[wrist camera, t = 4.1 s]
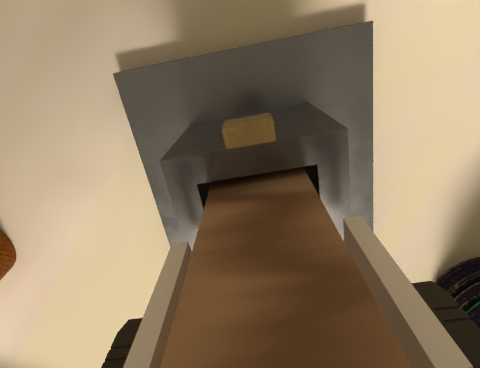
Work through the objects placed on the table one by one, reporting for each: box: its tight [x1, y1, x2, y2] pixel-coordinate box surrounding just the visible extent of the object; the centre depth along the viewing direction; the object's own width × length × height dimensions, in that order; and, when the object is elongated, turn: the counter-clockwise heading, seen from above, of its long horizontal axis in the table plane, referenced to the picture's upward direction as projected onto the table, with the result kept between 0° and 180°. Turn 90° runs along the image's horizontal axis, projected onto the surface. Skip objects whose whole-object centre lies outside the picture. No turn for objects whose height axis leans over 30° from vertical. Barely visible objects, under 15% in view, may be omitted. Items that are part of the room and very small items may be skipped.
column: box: [160, 167, 412, 368], centre depth 13 cm, size 5×5×20 cm
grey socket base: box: [113, 21, 373, 251], centre depth 20 cm, size 18×18×10 cm
